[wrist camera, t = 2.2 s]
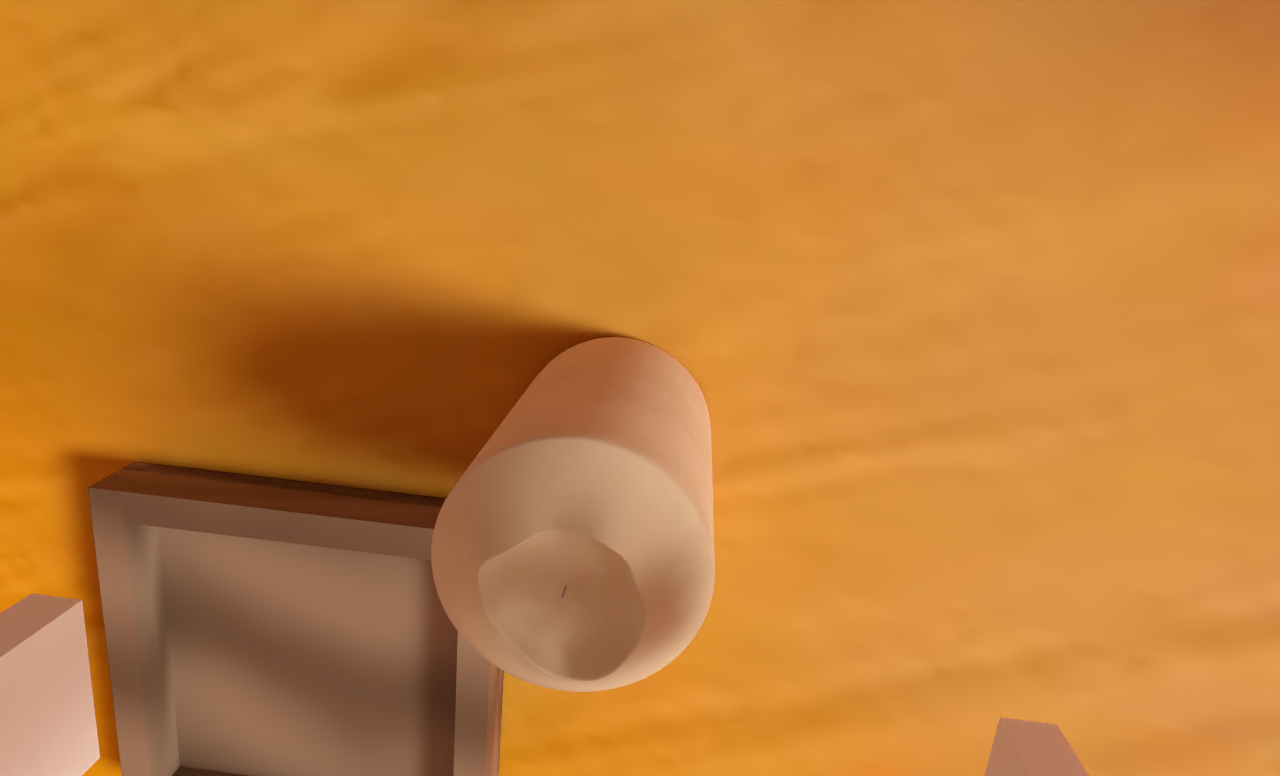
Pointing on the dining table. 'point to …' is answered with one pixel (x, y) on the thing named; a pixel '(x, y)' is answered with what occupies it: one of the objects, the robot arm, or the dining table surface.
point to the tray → (283, 631)
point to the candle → (585, 523)
